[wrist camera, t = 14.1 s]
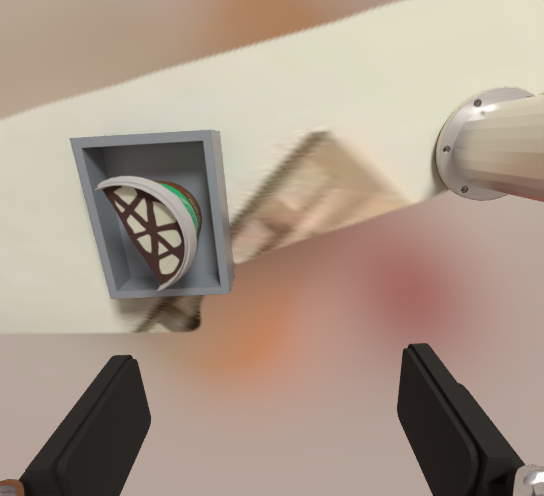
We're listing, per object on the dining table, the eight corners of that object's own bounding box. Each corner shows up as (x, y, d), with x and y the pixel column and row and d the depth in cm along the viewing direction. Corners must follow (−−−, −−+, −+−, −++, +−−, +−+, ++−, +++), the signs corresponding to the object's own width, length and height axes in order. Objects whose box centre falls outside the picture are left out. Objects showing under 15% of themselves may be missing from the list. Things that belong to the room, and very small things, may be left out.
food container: (228, 242, 40) (213, 273, 30) (186, 259, 41) (160, 295, 31) (182, 151, 36) (149, 155, 27) (138, 173, 37) (91, 183, 28)
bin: (219, 131, 36) (211, 129, 32) (234, 276, 43) (229, 293, 38) (95, 138, 37) (69, 138, 32) (128, 281, 43) (110, 299, 38)
